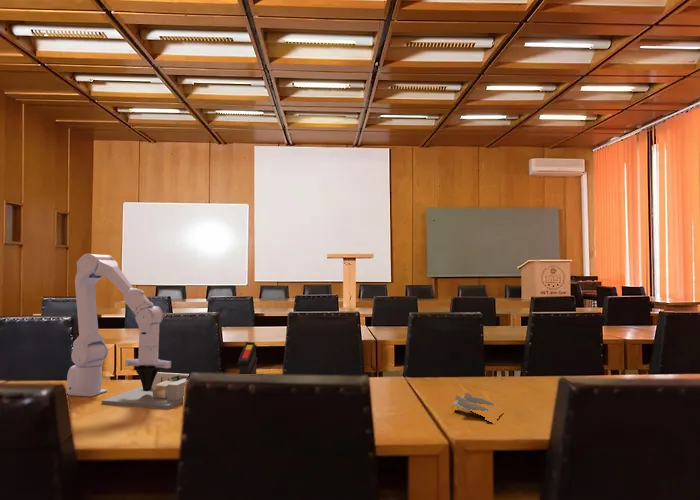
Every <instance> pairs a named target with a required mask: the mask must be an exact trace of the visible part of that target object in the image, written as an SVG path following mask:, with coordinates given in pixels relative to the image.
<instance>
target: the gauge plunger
mask: <svg viewBox="0 0 700 500" xmlns="http://www.w3.org/2000/svg"><path fill="white" fill-rule="evenodd" d="M174 378H177V381H178V380H179V375H176V376H174V377H171V379H174ZM173 382H176V381H164V382H161V383H158V384H156V385H153V397H156V398H166V397H167V392H168V384H170V383H173Z"/></svg>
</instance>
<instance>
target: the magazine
mask: <svg viewBox="0 0 700 500" xmlns="http://www.w3.org/2000/svg"><path fill="white" fill-rule="evenodd" d="M243 346H244V347H243V348H242V351H241V353H240V355H239V358H238V362H237V363H236V366H237V367H238V369H239V372H238V374H257V362H258V357H257V352H256V349H257V347H258V345H257V344H256V343H255V342H254V341H253V342H252V341H247V342H245V344H244V345H243Z"/></svg>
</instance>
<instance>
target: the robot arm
mask: <svg viewBox="0 0 700 500" xmlns="http://www.w3.org/2000/svg"><path fill="white" fill-rule="evenodd" d="M118 264H119V263H118V262H117V260H115V259H114V258H113V256H112V255H110V254H94V253H85V254H83V255H82V256H80V258H79V259H78V260H77V261H76V274H75V278H74V285H75V286H74V289H75V300H76V310H77V325H78V334H79V335H78V336H77V337H76V339H75V340H74V341H73V342H72V345H73V346H72V351H71V357H70V358H71V361H72V362H73V363H74V365H72V366H70V367H69V369H68V372H67V375H66V378H67V379H66V393H67V392H68V395H67V396H77V397H78V396H79V397H94V396H96V395H99V394H103V393H106V392H108V389H102V383H103V382H102V379H103V376H102V375H103V364H104V360H105V359H107V357H108V353H109V350H108V346H107V345H106V341H105V338H104V336H102V334H100V332H99V322H98V311H97V310H98V309H97V302H96V301H97V297H96V287H95V285H96V284H97V282H99V281H100V279H102V278H107V279H109V280H108V281H110V282H111V283H112V284H113V285H114V286H115V287H116V288H117V289H118V290H119V291H120V292H121V293H122V294H123V301H124V303H125V304H126V305H127V307H129V309H130V311H132V313H133V314H134V315H135V318H134V319H135V322H136V323H137V326H138V330H139V331H138V332H139V334H138V358H128V359H125V361H124V362H125V363H124V364H125V366H126V367H138V368H136V369H135V372H136V373H137V375H138V377H139V379H140V381H141V382H140V383H141V386H143V391H150V390H151V388H152V384H153V381H154V378H155V376H156V374H157V372H159V371H160V368H161V369H162V368H163V369H171V367H172V360H164V359H160V358H159V346H160V345H159V343H160V324H161V323H162V321H163V319H164V312H163V310H162V309H161V307H160V306H158V305H154V303H153V302H152V301H150V300H149V299H148V297H147V296H146V295H145V291H144V290H143V289H140V288H134V287H133V285H132V284H131V282H130V281H129V280H128V278H127V277H126V276H125V274H124V273H123V271H122V270H121V268H120V267H119V265H118Z"/></svg>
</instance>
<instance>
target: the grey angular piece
mask: <svg viewBox="0 0 700 500" xmlns="http://www.w3.org/2000/svg"><path fill="white" fill-rule="evenodd" d="M476 403H479V404H487V405H494V406H495V403H494V402H492V401H490V400H488V399H485V398H482V397H476V396H473V395H472V394H471V393H469V392H465V393H464V394H462V395H461V396H460V395H458V394H457V395H455V401H454V402H453V403H452V404H453V405H454V406H455V405H456V406H458V408H461V409H463V410H466V411H467V410H468V412H470V410H471V409H472V410H481V411H485V410H486V411H489V410H488V409H487V408H485V407H482V406H480V405H478V404H476Z"/></svg>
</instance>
